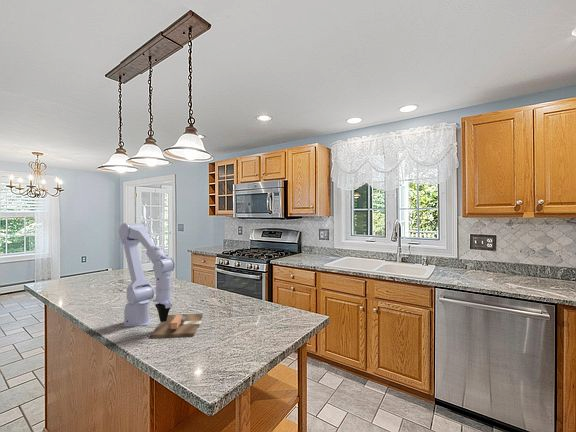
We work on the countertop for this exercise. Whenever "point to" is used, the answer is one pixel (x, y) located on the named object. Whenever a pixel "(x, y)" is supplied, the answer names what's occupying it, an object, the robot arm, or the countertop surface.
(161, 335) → the lock board
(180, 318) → the orange bar
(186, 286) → the countertop surface
